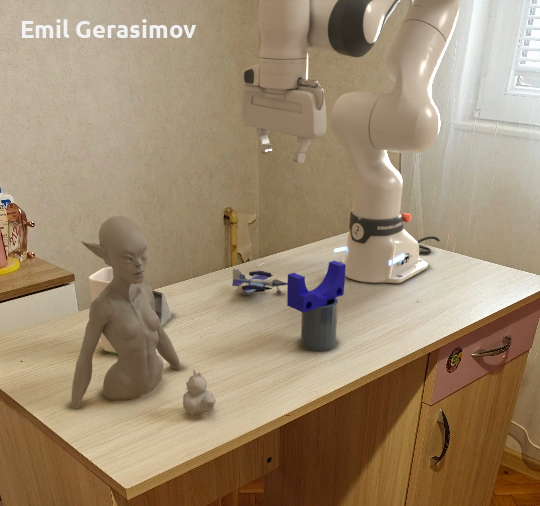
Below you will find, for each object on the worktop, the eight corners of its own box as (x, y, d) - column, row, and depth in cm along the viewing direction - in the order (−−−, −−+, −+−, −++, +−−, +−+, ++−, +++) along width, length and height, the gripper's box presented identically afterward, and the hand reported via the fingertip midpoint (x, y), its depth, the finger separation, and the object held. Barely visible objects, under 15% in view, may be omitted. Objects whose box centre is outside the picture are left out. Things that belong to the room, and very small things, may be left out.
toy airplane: (303, 296, 163) (303, 280, 161) (249, 308, 158) (249, 292, 155) (273, 278, 172) (273, 263, 170) (221, 289, 167) (221, 274, 165)
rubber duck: (198, 400, 124) (195, 358, 119) (226, 413, 120) (224, 370, 116) (175, 413, 120) (171, 369, 116) (203, 426, 117) (200, 382, 112)
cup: (129, 359, 137) (120, 283, 128) (95, 353, 139) (84, 278, 130) (147, 344, 142) (139, 270, 134) (115, 339, 144) (105, 265, 136)
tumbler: (318, 333, 147) (320, 291, 142) (342, 344, 143) (345, 301, 137) (293, 342, 143) (294, 299, 138) (317, 354, 139) (319, 310, 134)
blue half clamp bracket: (303, 312, 133) (304, 281, 129) (287, 305, 135) (287, 274, 132) (349, 297, 139) (351, 266, 135) (332, 290, 142) (334, 260, 138)
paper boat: (188, 312, 152) (160, 315, 145) (173, 334, 156) (144, 337, 148) (155, 271, 154) (125, 272, 147) (141, 293, 158) (111, 295, 151)
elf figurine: (97, 425, 117) (68, 239, 100) (67, 403, 123) (34, 224, 105) (205, 381, 130) (196, 209, 112) (173, 363, 135) (160, 197, 118)
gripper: (336, 79, 125) (332, 164, 133) (260, 69, 138) (261, 147, 146) (310, 82, 122) (307, 169, 130) (235, 71, 134) (236, 151, 142)
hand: (282, 157), depth 138 cm, fingers open, 8 cm apart
